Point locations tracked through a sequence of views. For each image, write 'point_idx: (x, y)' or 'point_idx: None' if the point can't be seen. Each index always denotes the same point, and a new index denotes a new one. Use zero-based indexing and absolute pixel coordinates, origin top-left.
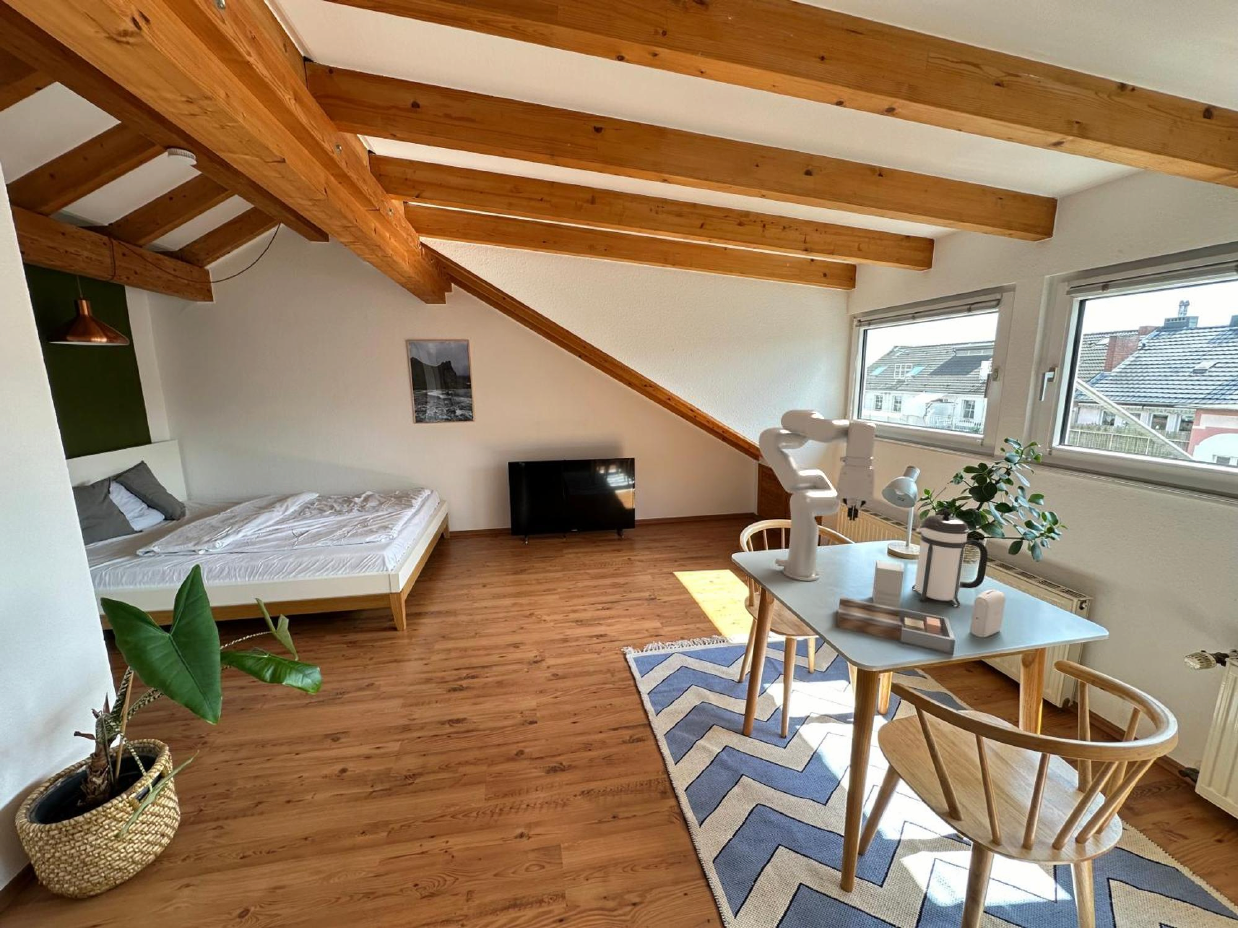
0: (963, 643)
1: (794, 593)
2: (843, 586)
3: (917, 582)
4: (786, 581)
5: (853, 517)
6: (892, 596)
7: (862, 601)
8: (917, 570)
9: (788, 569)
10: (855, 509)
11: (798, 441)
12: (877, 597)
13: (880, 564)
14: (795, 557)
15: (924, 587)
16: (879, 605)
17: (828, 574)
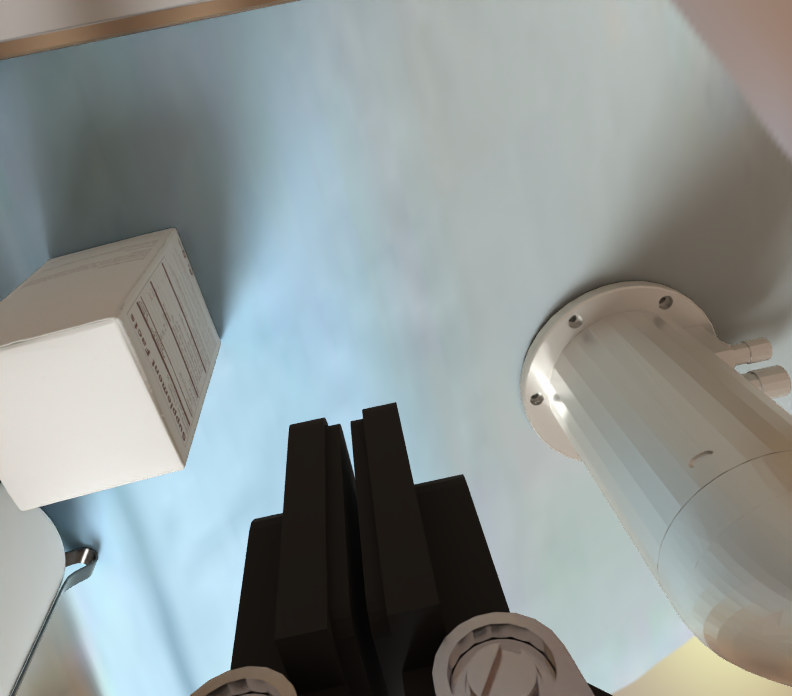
0: None
1: (600, 67)
2: (383, 367)
3: (21, 537)
4: (670, 221)
5: (322, 455)
6: (62, 271)
7: (160, 2)
8: (9, 603)
9: (693, 334)
10: (291, 619)
11: None
12: (150, 244)
13: (125, 401)
14: (708, 360)
15: None
16: (45, 12)
17: (486, 466)
